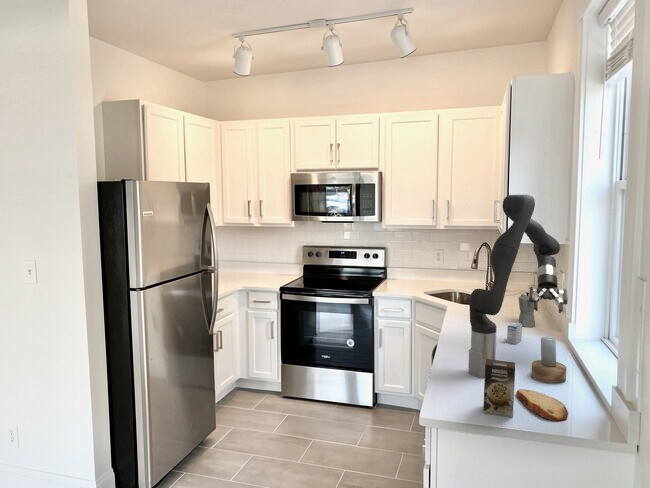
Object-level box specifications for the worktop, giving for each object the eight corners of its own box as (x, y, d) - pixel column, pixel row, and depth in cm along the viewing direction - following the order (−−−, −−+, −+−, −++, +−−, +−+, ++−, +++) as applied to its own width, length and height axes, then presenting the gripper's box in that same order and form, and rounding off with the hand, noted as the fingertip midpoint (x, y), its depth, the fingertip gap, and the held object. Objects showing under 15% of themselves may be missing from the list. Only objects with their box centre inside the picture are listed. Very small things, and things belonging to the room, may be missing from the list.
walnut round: (552, 386, 173) (552, 373, 173) (524, 375, 184) (524, 363, 183) (572, 380, 179) (573, 367, 179) (544, 370, 190) (545, 358, 189)
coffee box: (482, 413, 151) (484, 364, 150) (483, 405, 157) (485, 358, 156) (513, 418, 148) (515, 367, 146) (513, 409, 154) (515, 361, 152)
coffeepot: (540, 328, 249) (541, 295, 247) (521, 328, 249) (522, 294, 248) (529, 321, 264) (530, 289, 262) (512, 321, 265) (513, 289, 263)
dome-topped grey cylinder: (542, 366, 179) (542, 340, 179) (540, 362, 184) (539, 336, 184) (557, 366, 178) (557, 340, 178) (554, 362, 183) (554, 337, 183)
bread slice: (517, 392, 169) (518, 381, 168) (574, 404, 158) (574, 394, 158) (503, 410, 154) (503, 399, 154) (564, 425, 144) (564, 413, 143)
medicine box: (512, 339, 231) (512, 321, 230) (521, 341, 228) (522, 323, 227) (506, 343, 225) (507, 325, 224) (516, 345, 222) (517, 326, 221)
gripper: (529, 272, 199) (529, 304, 190) (567, 273, 194) (569, 307, 185) (528, 282, 205) (528, 314, 195) (565, 284, 200) (567, 317, 190)
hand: (548, 311), depth 190 cm, fingers open, 8 cm apart
